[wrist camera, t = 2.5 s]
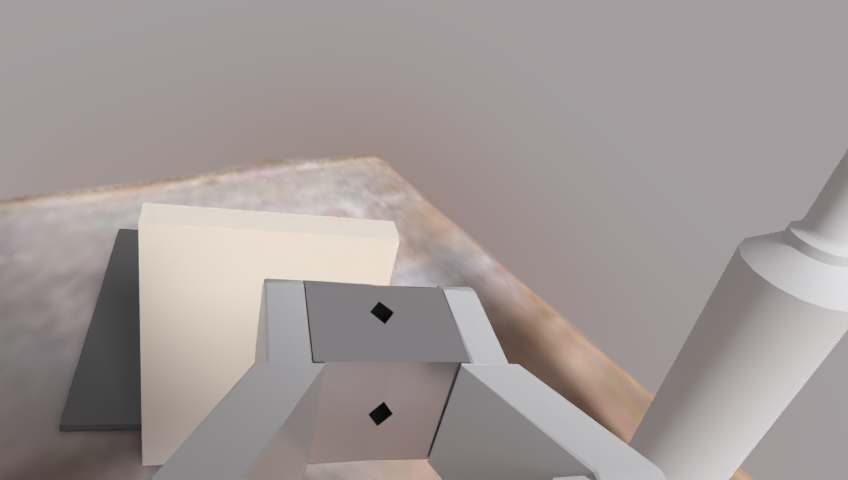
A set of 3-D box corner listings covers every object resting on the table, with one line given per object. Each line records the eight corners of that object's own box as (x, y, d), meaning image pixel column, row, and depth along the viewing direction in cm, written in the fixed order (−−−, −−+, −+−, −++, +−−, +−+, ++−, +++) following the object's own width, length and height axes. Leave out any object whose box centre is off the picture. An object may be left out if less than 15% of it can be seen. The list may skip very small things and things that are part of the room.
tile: (142, 465, 31) (138, 222, 23) (146, 439, 32) (143, 200, 25) (347, 457, 34) (399, 239, 26) (343, 434, 35) (393, 219, 28)
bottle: (656, 574, 32) (1001, 111, 19) (578, 494, 35) (829, 49, 22) (706, 526, 35) (1030, 101, 22) (631, 457, 38) (877, 48, 25)
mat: (60, 430, 31) (59, 425, 31) (119, 233, 45) (119, 228, 45) (411, 422, 37) (412, 417, 36) (367, 248, 51) (368, 244, 50)
